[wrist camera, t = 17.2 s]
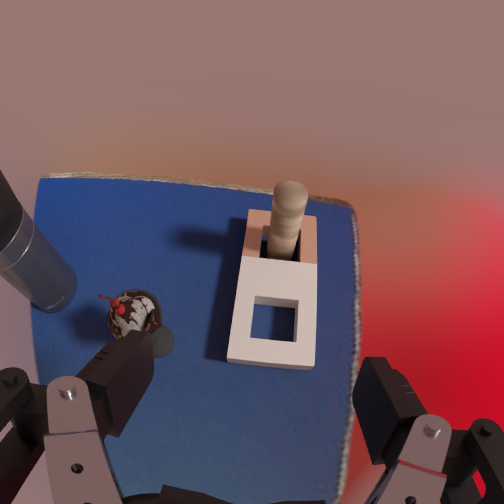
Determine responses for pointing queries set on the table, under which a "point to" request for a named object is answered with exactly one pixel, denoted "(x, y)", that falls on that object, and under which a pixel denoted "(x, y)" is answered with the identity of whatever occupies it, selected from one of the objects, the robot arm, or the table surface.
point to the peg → (285, 219)
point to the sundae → (139, 318)
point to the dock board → (276, 298)
